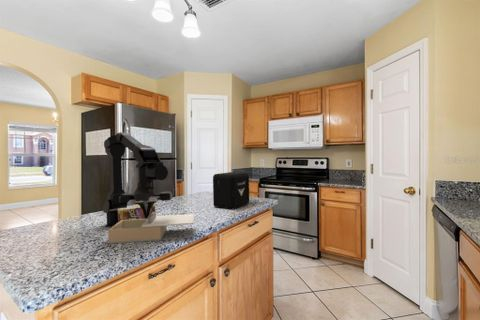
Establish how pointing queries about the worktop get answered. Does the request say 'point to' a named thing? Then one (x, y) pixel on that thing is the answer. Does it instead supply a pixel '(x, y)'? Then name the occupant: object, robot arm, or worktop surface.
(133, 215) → the candy box
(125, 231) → the box
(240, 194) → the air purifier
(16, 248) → the worktop surface
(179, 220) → the lid
